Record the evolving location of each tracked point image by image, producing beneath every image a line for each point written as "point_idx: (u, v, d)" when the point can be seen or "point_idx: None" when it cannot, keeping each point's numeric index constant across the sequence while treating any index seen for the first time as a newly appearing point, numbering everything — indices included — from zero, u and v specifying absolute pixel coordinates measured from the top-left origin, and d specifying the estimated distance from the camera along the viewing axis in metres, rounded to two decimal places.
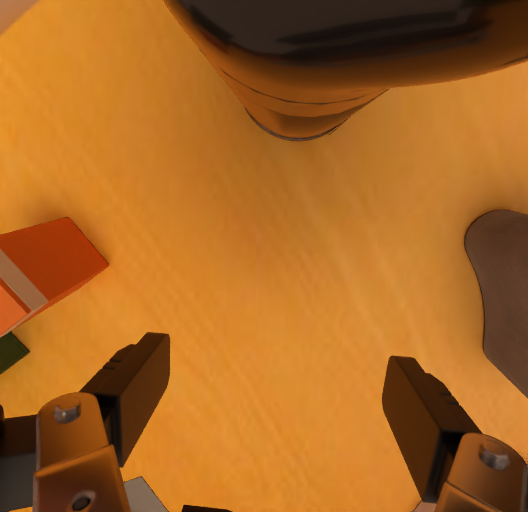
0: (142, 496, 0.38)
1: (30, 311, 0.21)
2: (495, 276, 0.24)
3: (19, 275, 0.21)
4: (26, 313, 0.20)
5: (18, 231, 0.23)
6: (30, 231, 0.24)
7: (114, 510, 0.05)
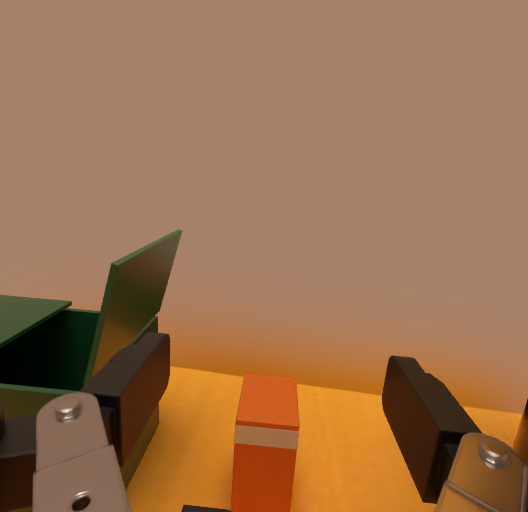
0: None
1: (298, 429, 0.22)
2: None
3: None
4: (298, 426, 0.22)
5: None
6: None
7: (114, 510, 0.05)
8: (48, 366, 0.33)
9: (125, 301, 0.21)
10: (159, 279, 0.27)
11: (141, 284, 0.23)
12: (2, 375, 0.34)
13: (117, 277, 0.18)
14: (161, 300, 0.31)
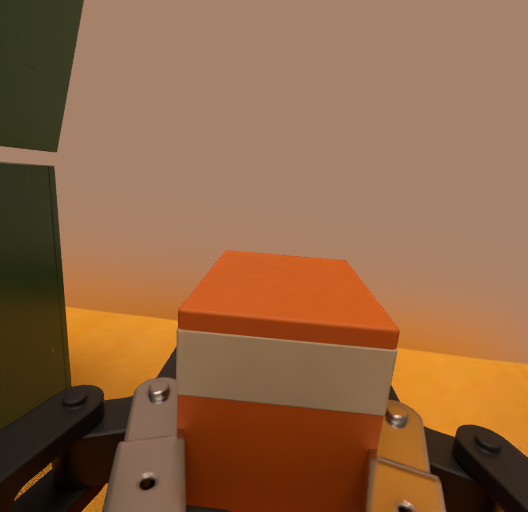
0: None
1: (395, 345, 0.06)
2: None
3: None
4: (397, 330, 0.06)
5: None
6: None
7: (172, 500, 0.05)
8: None
9: None
10: (22, 23, 0.12)
11: None
12: None
13: None
14: (55, 123, 0.15)
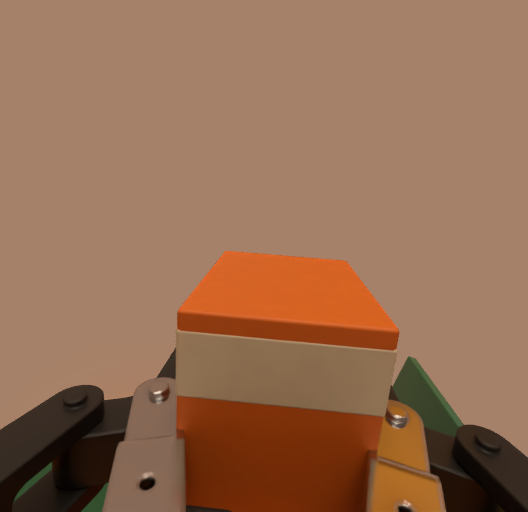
0: None
1: (395, 345, 0.06)
2: None
3: None
4: (396, 331, 0.06)
5: None
6: None
7: (172, 499, 0.05)
8: None
9: None
10: None
11: None
12: None
13: None
14: None
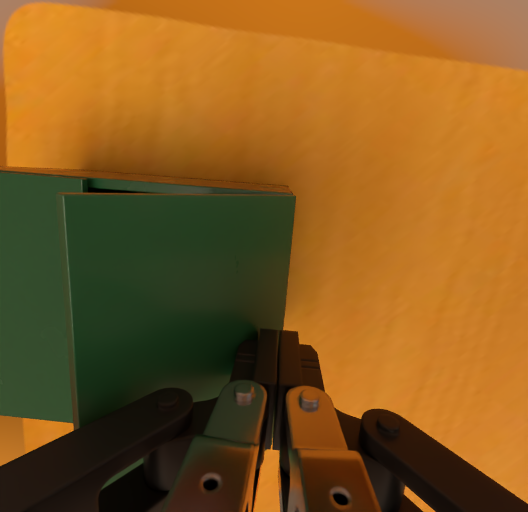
0: None
1: None
2: None
3: None
4: None
5: None
6: None
7: (228, 509, 0.05)
8: None
9: None
10: (208, 291, 0.10)
11: None
12: None
13: None
14: (275, 208, 0.12)
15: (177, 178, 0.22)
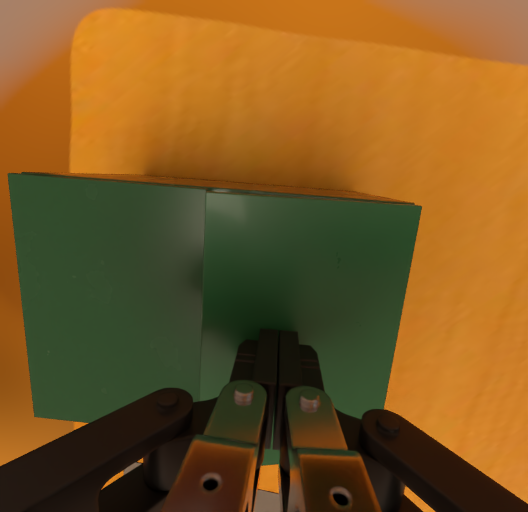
0: None
1: None
2: None
3: None
4: None
5: None
6: None
7: (228, 509, 0.05)
8: None
9: None
10: (306, 277, 0.12)
11: None
12: None
13: None
14: (390, 215, 0.12)
15: (251, 184, 0.22)
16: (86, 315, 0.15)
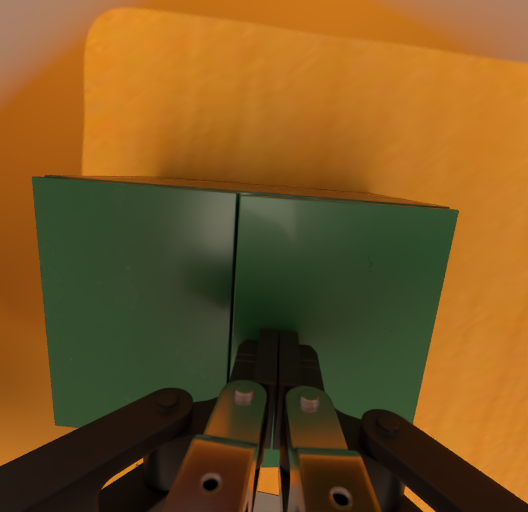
0: None
1: None
2: None
3: None
4: None
5: None
6: None
7: (228, 509, 0.05)
8: None
9: None
10: (337, 280, 0.12)
11: None
12: None
13: None
14: (424, 220, 0.12)
15: None
16: (110, 322, 0.14)
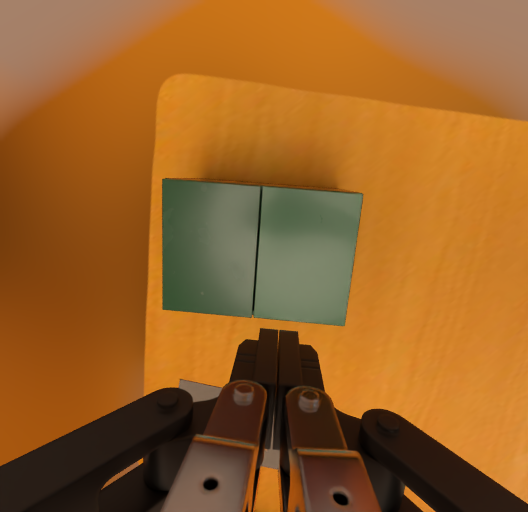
0: None
1: None
2: None
3: None
4: None
5: None
6: None
7: (228, 509, 0.05)
8: None
9: (292, 295, 0.29)
10: (306, 225, 0.27)
11: (289, 272, 0.28)
12: None
13: (263, 314, 0.30)
14: (346, 198, 0.27)
15: (274, 184, 0.36)
16: (196, 251, 0.28)
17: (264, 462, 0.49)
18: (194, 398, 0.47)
